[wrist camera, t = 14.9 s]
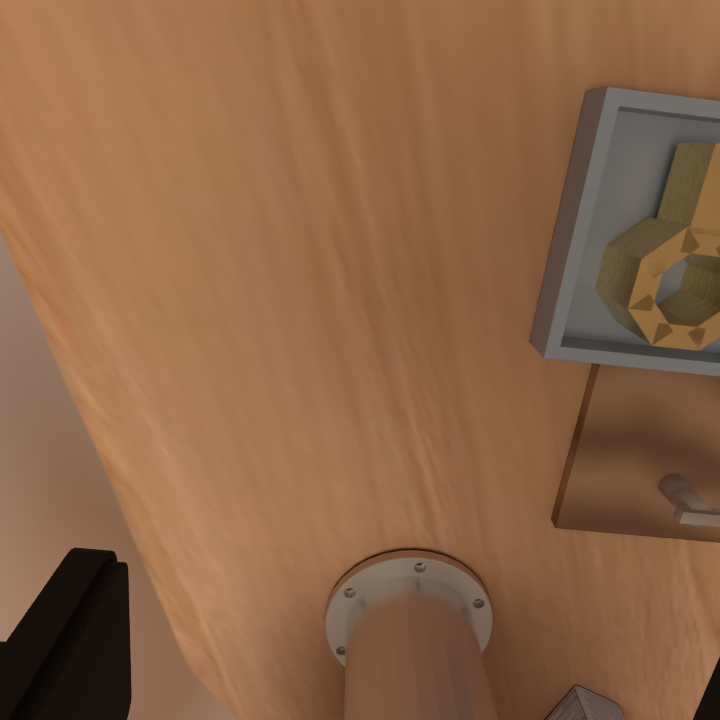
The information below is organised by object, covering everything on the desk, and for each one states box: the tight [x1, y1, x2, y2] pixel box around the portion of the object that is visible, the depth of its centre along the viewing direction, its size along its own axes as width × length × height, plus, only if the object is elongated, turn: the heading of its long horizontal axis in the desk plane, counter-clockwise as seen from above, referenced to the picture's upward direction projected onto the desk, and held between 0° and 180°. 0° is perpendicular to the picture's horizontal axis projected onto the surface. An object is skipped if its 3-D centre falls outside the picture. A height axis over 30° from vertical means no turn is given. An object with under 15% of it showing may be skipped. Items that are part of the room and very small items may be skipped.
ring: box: [595, 143, 720, 351], centre depth 32 cm, size 10×6×4 cm, turn 173°
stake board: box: [551, 363, 720, 543], centre depth 38 cm, size 13×12×5 cm
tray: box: [529, 87, 720, 376], centre depth 34 cm, size 15×13×3 cm
